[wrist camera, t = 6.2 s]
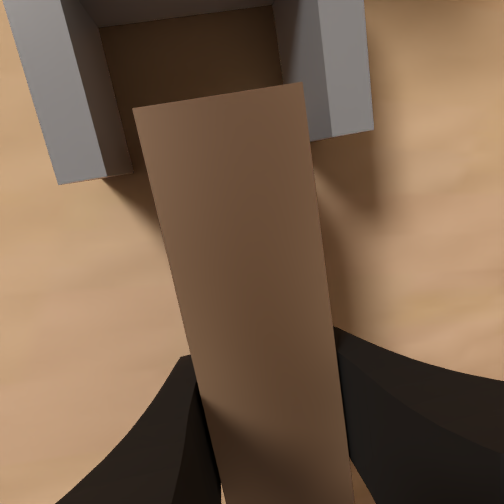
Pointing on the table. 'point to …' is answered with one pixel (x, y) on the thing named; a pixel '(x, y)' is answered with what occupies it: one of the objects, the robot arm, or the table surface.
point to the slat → (252, 288)
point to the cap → (164, 7)
